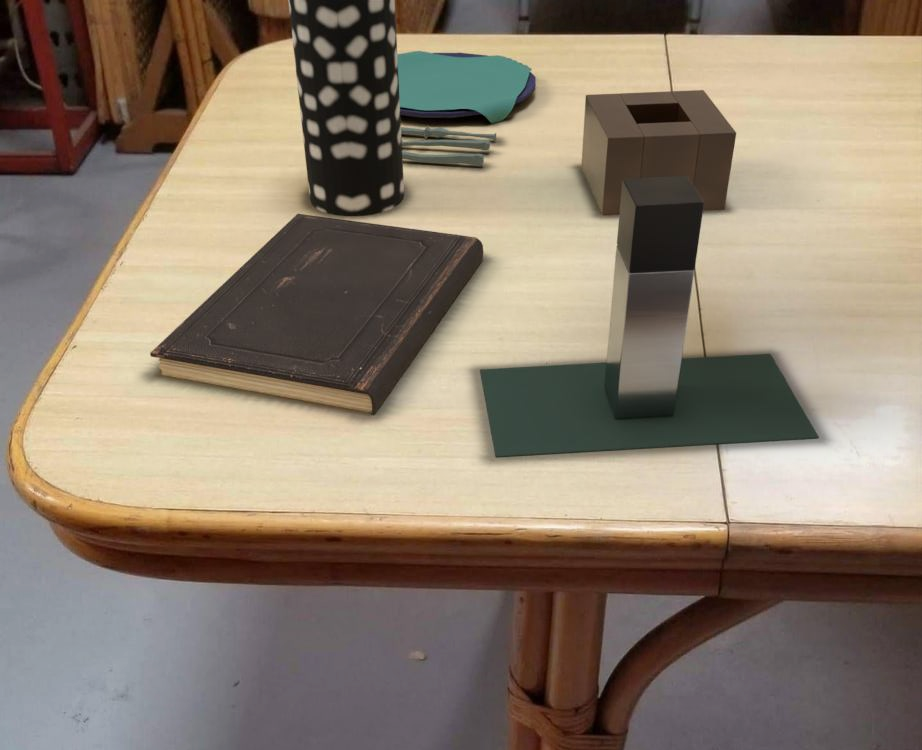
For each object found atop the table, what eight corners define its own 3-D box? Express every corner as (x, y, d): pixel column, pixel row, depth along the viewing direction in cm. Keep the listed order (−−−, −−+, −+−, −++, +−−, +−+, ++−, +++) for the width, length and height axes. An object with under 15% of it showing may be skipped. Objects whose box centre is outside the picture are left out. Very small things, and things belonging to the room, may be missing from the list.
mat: (768, 360, 74) (770, 353, 73) (817, 444, 66) (819, 436, 66) (479, 376, 73) (479, 369, 72) (495, 464, 65) (495, 455, 65)
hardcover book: (156, 381, 73) (149, 352, 71) (300, 239, 89) (297, 213, 87) (375, 421, 69) (373, 391, 67) (483, 265, 85) (483, 237, 83)
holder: (693, 167, 100) (703, 89, 95) (723, 215, 92) (736, 132, 87) (580, 172, 99) (585, 94, 94) (601, 220, 91) (608, 138, 86)
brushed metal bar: (660, 384, 70) (687, 175, 61) (674, 416, 68) (704, 202, 58) (603, 387, 70) (622, 178, 61) (614, 419, 67) (635, 205, 58)
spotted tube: (291, 202, 95) (260, -52, 82) (362, 175, 99) (343, -69, 86) (352, 230, 90) (330, -34, 77) (423, 200, 95) (414, -54, 82)
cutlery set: (548, 75, 120) (549, 53, 119) (502, 178, 98) (502, 152, 97) (377, 65, 124) (376, 44, 122) (295, 163, 101) (292, 139, 100)
